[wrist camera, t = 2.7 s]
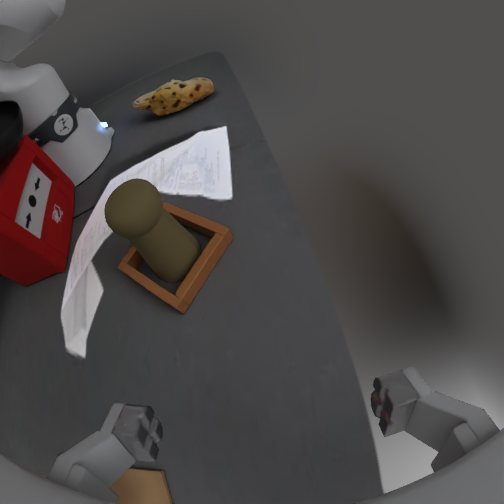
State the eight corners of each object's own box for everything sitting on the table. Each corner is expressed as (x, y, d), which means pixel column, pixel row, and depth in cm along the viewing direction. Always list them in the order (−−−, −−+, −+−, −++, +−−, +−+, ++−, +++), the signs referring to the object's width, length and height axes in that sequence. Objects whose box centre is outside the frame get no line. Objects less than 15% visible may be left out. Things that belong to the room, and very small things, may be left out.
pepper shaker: (145, 276, 29) (83, 224, 19) (163, 230, 31) (115, 169, 22) (191, 287, 27) (133, 230, 18) (208, 236, 30) (166, 166, 20)
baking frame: (126, 274, 30) (116, 267, 28) (171, 211, 33) (164, 201, 31) (184, 314, 26) (175, 308, 24) (233, 237, 29) (228, 227, 27)
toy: (146, 74, 44) (124, 97, 39) (216, 67, 43) (202, 88, 38) (152, 97, 49) (132, 122, 44) (219, 92, 48) (207, 117, 43)
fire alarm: (28, 132, 26) (79, 186, 39) (-9, 166, 26) (41, 209, 40) (-7, 224, 19) (71, 272, 32) (-38, 253, 19) (30, 289, 33)
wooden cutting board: (79, 516, 15) (76, 517, 14) (60, 453, 20) (57, 453, 19) (187, 543, 14) (185, 545, 13) (163, 470, 19) (160, 471, 18)
